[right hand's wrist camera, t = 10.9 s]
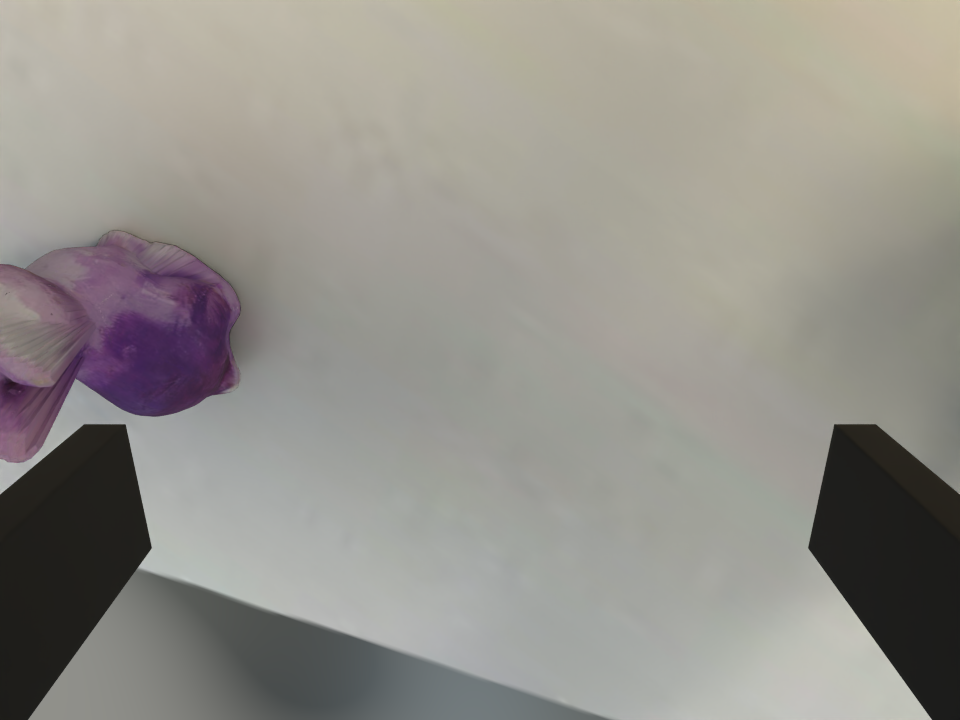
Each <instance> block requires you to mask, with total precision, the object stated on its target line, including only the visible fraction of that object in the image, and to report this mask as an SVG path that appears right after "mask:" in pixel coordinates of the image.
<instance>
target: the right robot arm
mask: <svg viewBox="0 0 960 720" xmlns="http://www.w3.org/2000/svg"><path fill="white" fill-rule="evenodd" d="M151 548H152V547H151V542H150V537H149V533H148V528H147V523H146V518H145V514H144V509H143V504H142V500H141V495H140V490H139V485H138V481H137V476H136V471H135V467H134V462H133V457H132V452H131V448H130V443H129V438H128V434H127V429H126V424H84V425H83V426H82V427H81V428H79V429H78V430H77V431H76V432H75V433H73V434H72V435H71V436H70V437H69V438H67V439H66V440H65V441H64V442H63V443H61V444H60V445H59V446H58V447H57V448H55V449H54V450H53V451H52V452H51V453H49V454H48V455H47V456H46V457H45V458H43V459H42V460H41V461H40V462H39V463H38V464H36V465H35V466H34V467H33V468H32V469H30V470H29V471H28V472H27V473H26V474H24V475H23V476H22V477H21V478H20V479H18V480H17V481H16V482H15V483H14V484H12V485H11V486H10V487H9V488H8V489H6V490H5V491H4V492H3V493H2V494H0V720H28V719H29V717H30V716H31V715H32V713H33V712H34V711H35V709H36V708H37V706H38V705H39V704H40V702H41V701H42V699H43V698H44V697H45V695H46V694H47V692H48V691H49V690H50V688H51V687H52V686H53V684H54V683H55V681H56V680H57V679H58V677H59V676H60V675H61V673H62V672H63V670H64V669H65V668H66V666H67V665H68V663H69V662H70V661H71V659H72V658H73V656H74V655H75V654H76V652H77V651H78V650H79V648H80V647H81V645H82V644H83V643H84V641H85V640H86V638H87V637H88V636H89V634H90V633H91V632H92V630H93V629H94V627H95V626H96V625H97V623H98V622H99V620H100V619H101V618H102V616H103V615H104V614H105V612H106V611H107V609H108V608H109V607H110V605H111V604H112V602H113V601H114V600H115V598H116V597H117V596H118V594H119V593H120V591H121V590H122V589H123V587H124V586H125V584H126V583H127V582H128V580H129V579H130V577H131V576H132V575H133V573H134V572H135V571H136V569H137V568H138V566H139V565H140V564H141V562H142V561H143V560H144V558H145V557H146V555H147V554H148V553H149V551H150V550H151ZM808 548H809V550H810V551H811V553H812V554H813V555H814V557H815V558H816V560H817V561H818V562H819V564H820V565H821V566H822V568H823V569H824V571H825V572H826V573H827V575H828V576H829V578H830V579H831V580H832V582H833V583H834V584H835V586H836V587H837V589H838V590H839V591H840V593H841V594H842V596H843V597H844V598H845V600H846V601H847V602H848V604H849V605H850V607H851V608H852V609H853V611H854V612H855V614H856V615H857V616H858V618H859V619H860V620H861V622H862V623H863V625H864V626H865V627H866V629H867V630H868V632H869V633H870V634H871V636H872V637H873V638H874V640H875V641H876V643H877V644H878V645H879V647H880V648H881V650H882V651H883V652H884V654H885V655H886V657H887V658H888V659H889V661H890V662H891V663H892V665H893V666H894V668H895V669H896V670H897V672H898V673H899V675H900V676H901V677H902V679H903V680H904V681H905V683H906V684H907V686H908V687H909V688H910V690H911V691H912V693H913V694H914V695H915V697H916V698H917V699H918V701H919V702H920V704H921V705H922V706H923V708H924V709H925V711H926V712H927V713H928V715H929V716H930V717H931V719H932V720H960V494H958V493H957V492H956V491H955V490H954V489H952V488H951V487H950V486H949V485H948V484H946V483H945V482H944V481H943V480H942V479H940V478H939V477H938V476H937V475H936V474H934V473H933V472H932V471H931V470H930V469H928V468H927V467H926V466H925V465H924V464H922V463H921V462H920V461H919V460H918V459H917V458H915V457H914V456H913V455H912V454H911V453H909V452H908V451H907V450H906V449H905V448H903V447H902V446H901V445H900V444H899V443H897V442H896V441H895V440H894V439H893V438H891V437H890V436H889V435H888V434H887V433H885V432H884V431H883V430H882V429H881V428H879V427H878V426H877V425H876V424H834V429H833V434H832V438H831V443H830V448H829V452H828V457H827V462H826V467H825V471H824V476H823V481H822V485H821V490H820V495H819V500H818V504H817V509H816V514H815V518H814V523H813V528H812V533H811V537H810V542H809V547H808Z"/></svg>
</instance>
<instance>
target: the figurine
mask: <svg viewBox="0 0 960 720" xmlns="http://www.w3.org/2000/svg"><path fill="white" fill-rule="evenodd" d="M239 315H240V303H239V300H238V297H237V295H236V293H235V291H234V290H233V288H232V287H231V286H230V284H229V283H228V282H227V281H225V280H224V279H223V278H222V277H221V276H220V275H218V274H217V273H216V272H214V271H213V270H212V269H210V268H209V267H208V266H206V265H205V264H204V263H202V262H201V261H200V260H198V259H197V258H196V257H194V256H193V255H191V254H189V253H187V252H185V251H184V250H182V249H180V248H178V247H177V246H174V245H169V244H163V243H158V242H153V243H149V242H147V241H146V240H142V239H140V238H137V237H135V236H133V235H131V234H129V233H126V232H123V231H116V230H115V231H110V232H108V234H105V235H103V236H102V238H100V240H99V243H98V244H97V246H96V247H75V248H64V249H58V250H53V251H51V252H49V253H47V254H45V255H44V256H42V257H40V258H39V259H37V260H36V261H34V262H33V263H32V264H30V265H29V266H28V267H27V268H26V269H22V268H19V267H16V266H12V265H5V264H0V459H4V460H6V461H7V462H14V463H20V462H25V461H27V460H29V459H31V458H32V457H33V456H34V455H35V454H36V453H37V452H38V451H39V450H40V448H41V447H42V446H43V444H44V442H45V440H46V438H47V435H48V433H49V431H50V429H51V427H52V425H53V423H54V421H55V419H56V417H57V415H58V413H59V411H60V409H61V407H62V405H63V403H64V401H65V399H66V397H67V394H68V392H69V390H70V388H71V386H72V384H73V382H74V380H75V378H76V379H77V380H79V381H81V382H82V383H84V384H85V385H86V386H88V387H89V388H90V389H92V390H94V391H95V392H97V393H98V394H100V395H101V396H102V397H104V398H105V399H107V400H108V401H110V402H111V403H113V404H114V405H116V406H117V407H119V408H121V409H122V410H124V411H127V412H129V413H132V414H135V415H140V416H153V417H156V416H164V415H169V414H173V413H177V412H180V411H182V410H185V409H188V408H190V407H192V406H195V405H197V404H198V403H200V402H201V401H202V400H204V399H205V398H206V397H209V396H212V395H217V394H225V393H230V392H232V391H233V390H235V389H236V388H238V386H239V383H240V371H239V369H238V367H237V365H236V362H235V360H234V357H233V354H232V351H231V348H230V340H229V333H230V330H231V327H232V326H233V324H234V323H235V321H236V320H237V318H238V317H239Z"/></svg>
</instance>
